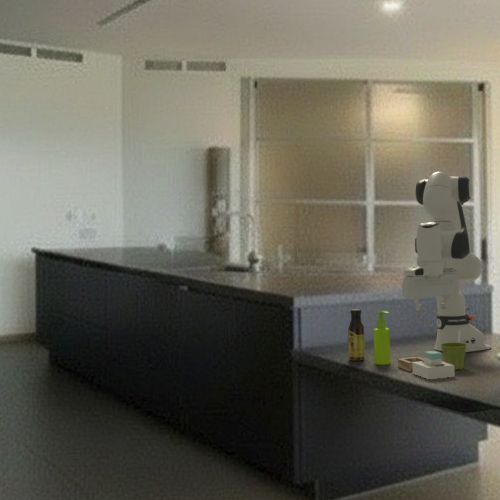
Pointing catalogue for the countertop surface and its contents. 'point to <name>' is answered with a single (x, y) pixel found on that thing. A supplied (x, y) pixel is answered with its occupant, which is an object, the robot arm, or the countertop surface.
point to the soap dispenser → (381, 341)
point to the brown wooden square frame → (408, 363)
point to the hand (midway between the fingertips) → (431, 309)
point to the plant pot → (454, 354)
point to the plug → (432, 358)
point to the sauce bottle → (356, 336)
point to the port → (433, 370)
